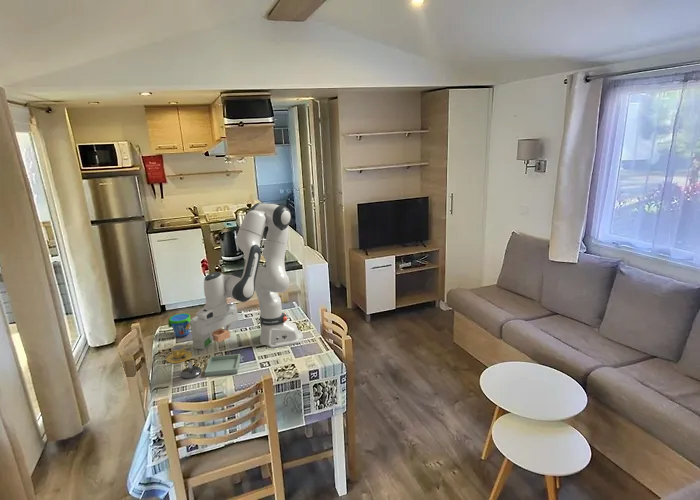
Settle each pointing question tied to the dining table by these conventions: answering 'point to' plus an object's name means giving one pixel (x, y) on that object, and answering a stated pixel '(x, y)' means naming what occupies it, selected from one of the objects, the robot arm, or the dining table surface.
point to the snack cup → (180, 324)
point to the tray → (223, 365)
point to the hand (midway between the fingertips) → (219, 336)
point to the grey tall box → (199, 336)
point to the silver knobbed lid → (190, 372)
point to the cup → (178, 354)
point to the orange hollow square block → (220, 335)
